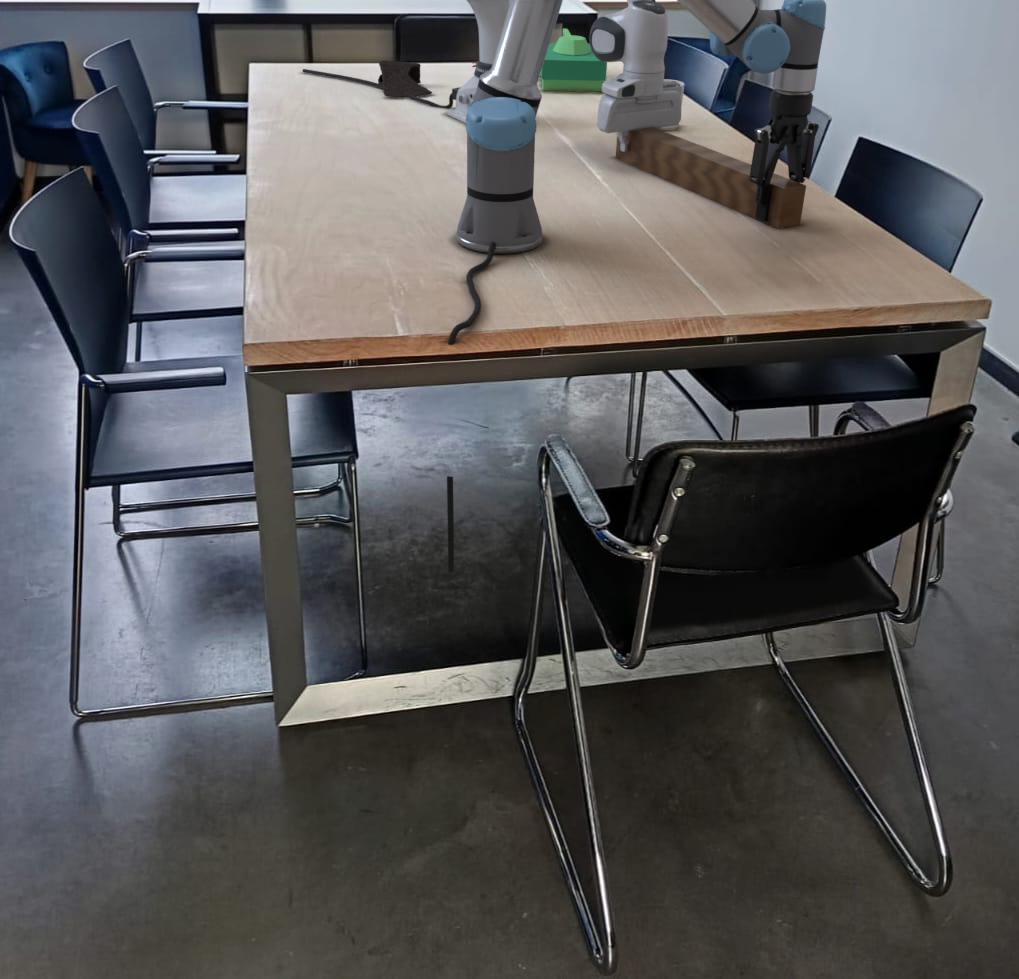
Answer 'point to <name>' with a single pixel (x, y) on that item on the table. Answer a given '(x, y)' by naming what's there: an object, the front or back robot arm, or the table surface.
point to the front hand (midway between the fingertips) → (773, 217)
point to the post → (711, 174)
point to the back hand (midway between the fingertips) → (637, 149)
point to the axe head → (401, 79)
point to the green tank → (572, 66)
